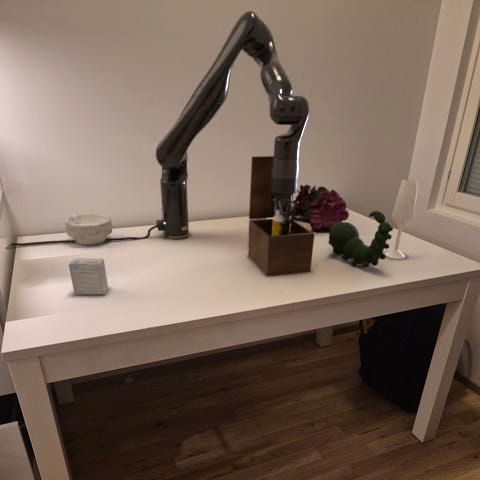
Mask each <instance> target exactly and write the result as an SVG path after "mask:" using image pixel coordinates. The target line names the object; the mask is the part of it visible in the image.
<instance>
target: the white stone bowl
mask: <svg viewBox="0 0 480 480" xmlns="http://www.w3.org/2000/svg"><path fill="white" fill-rule="evenodd" d="M64 226H65V230H66V231H65V232H66V235H67V236H68V237H70V238H72V239H73V240H75V241H76V242H75V243H77V244H80V245H85V246H92V245H99V244H101V243H103V242H106V241H105V239H108V236H109V235H111V234H112V233H113V223H112V218H111V217H110V216H109V215H106V214H102V213H79V214H75V215H70V216H68V217H66V218H65V220H64Z"/></svg>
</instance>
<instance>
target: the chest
mask: <svg viewBox="0 0 480 480" xmlns="http://www.w3.org/2000/svg"><path fill="white" fill-rule="evenodd" d="M272 222H273V218H266V219H261V220H250V219H249V220H248V248H247V256H248V257H249V258H250V260H252V262H253V263H254V264H255V265H256V267H258V269H260V270H261V271H262V272H263V273H264V275H266V277H269V276H277V275H278V276H279V275H290V274H299V273H306V272H308V273H309V272H311V269H312V261H313V250H314V242H315V232H313V231H312V230H310V229H309V228H307V227H306V226H304V225H303V224H302V223H299V221H295V220H294V223H291V229H290V235H277V236H272Z"/></svg>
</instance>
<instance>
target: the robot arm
mask: <svg viewBox="0 0 480 480" xmlns="http://www.w3.org/2000/svg"><path fill="white" fill-rule="evenodd" d="M275 43H276V42H275V39H274V36H273V32H272V31H271V29H270V27H269V26H268V25H267V24H266V23H265V22H264V21H263V20H262V19H261V18H260V16H259V15H258V14H257V13H256V12H254V11H253V10H248V11H245V12H244V13H243V14H241V15H240V16H239V18H238V19H237V20H236V22H235V24H234V25H233V27H232V28H231V30H230V32H229V34H228V35H227V38H226V39H225V41H224V43H223V45H222V47H221V49H220V50H219V51H218V54H217V56H216V57H215V59H214V60H213V63H211V65H210V66H209V68H208V70H207V71H206V73H205V74H204V76H203V77H202V78H201V80H200V81H199V83H198V85H197V86H196V88H195V89H194V91H193V92H192V94H191V96H190V98H189V99H188V101H187V103H186V104H185V106H184V107H183V109H182V111H181V113H180V115H179V116H178V118H177V120H176V122H174V124H173V126H172V127H171V128H170V129H169V131H168V132H167V133H166V135H165V136H164V137H163V138H162V140H161V141H160V142H159V143H158V144H157V146H156V149H155V158H156V161H157V163H158V165H159V166H160V167H161V175H160V178H159V179H160V180H159V186H160V199H161V209H160V213H161V219H157V220H156V224H155V225H154V226H151V227H150V228H148V230H147V234H146V235H145V236H142V237H137V236H128V237H126V236H125V237H113V238H112V237H111V238H107V239H105V241H104V242H113V241H127V240H135V241H137V240H143V239H148V238H149V237H150V234H151V232H152V231H153V230H155V229H157V231H158V232H162V235H163V237H164V239H172V240H180V239H185V238H189V236H190V227H189V205H188V204H189V203H188V202H189V201H188V178H189V164H188V163H189V160H188V158H189V155H188V149H189V148H190V146H191V144H192V143H193V141H194V140H195V138H197V136H198V135H199V134H200V133H201V131H202V130H204V129H205V128H206V127H207V125H208V124H209V123H210V122H211V121H212V120H213V119H214V117H215V116H216V115H217V114H218V112H219V111H220V109H221V108H222V106H223V105H224V104H225V102H226V100H227V99H228V95H229V89H230V83H231V75H232V70H233V67H234V64H235V62H236V60H237V59H238V56H239V55H240V54H241V52H243V53H244V54H245V55H246V56H248V57H249V58H251V59H252V61H254V62H255V63H256V65H257V66H258V67H259V69H260V71H259V78H260V83H261V86H262V88H263V90H264V92H265V94H266V97H267V103H268V116H269V119H270V121H271V122H272V123H273V124H275V125H277V126H289V128H288V130H287V132H284V133H282V134H278V135H276V137H274V141H273V155H272V156H273V157H274V158H273V164H272V176H271V191H272V192H273V193H275V194H271V214H273V217H274V216H276V210H279V213H280V216H281V217H282V230H281V235H289V227H290V224H291V223H294V218H295V217H296V216H295V212H296V203H293V202H292V201H293V200H292V196H291V195H292V194H293V195H294V194H296V193H298V192H297V190H298V183H299V181H298V180H299V169H300V168H299V166H300V161H299V158H300V145H301V140H302V136H303V134H304V131H305V128H306V125H307V122H308V119H309V116H310V104H309V101H308V99H307V98H306V97H305V96H303V95H292V94H293V85H292V83H291V80H290V78H289V76H288V74H287V72H286V70H285V69H284V66H283V65H282V62H281V60H280V57H279V55H278V53H277V48H276V44H275ZM283 212H286V213H283ZM10 243H11V245H9V246H8V247H11V246H12V247H13V246H16V247H17V246H18V247H24V246H25V247H26V246H35V245H36V246H37V245H47V244H48V245H49V244H64V243H66V244H67V243H69V244H70V243H77V242H76V241H75V240H74V239H64V240H63V239H61V240H60V239H59V240H44V241H33V242H32V241H31V242H23V243H21V242H10Z"/></svg>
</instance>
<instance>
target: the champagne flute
mask: <svg viewBox="0 0 480 480" xmlns="http://www.w3.org/2000/svg"><path fill="white" fill-rule="evenodd" d="M418 187H419V181H418V180H413V179H403V180H401V183H400V187H399V190H398V193H397V196H396V200H395V204H394V207H393V210H392V214H391V219H392V221H393V222H394V224H395V225H396V226H397V227H398V229H397V233H396V237H395V243H394V247H393V248H394V249H392V250H389V251H386V252H385V253H384V254H385V255H386V258H390V259H395V260H401V259H402V260H403V259H404V258H406V255H405V254H403V252H401V251H400V250H399V246H400V241H401V238H402V237H401V236H402V232H403V228H404V227H406V226H408V225H409V224H411V222H413V220H414V218H415V214H416V213H415V212H416V204H417V202H416V201H417V196H418Z"/></svg>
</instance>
